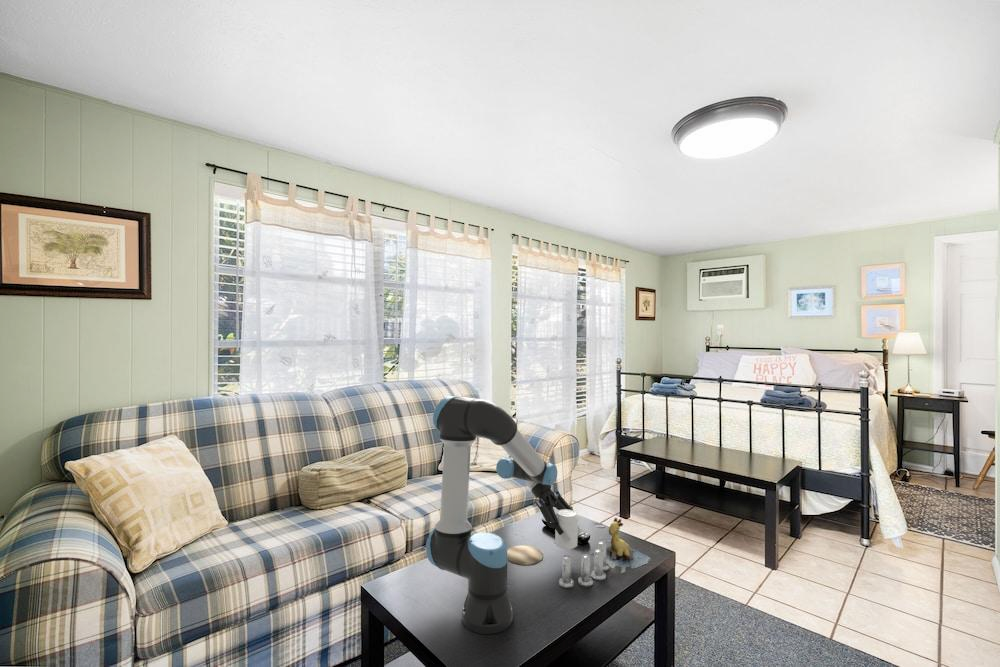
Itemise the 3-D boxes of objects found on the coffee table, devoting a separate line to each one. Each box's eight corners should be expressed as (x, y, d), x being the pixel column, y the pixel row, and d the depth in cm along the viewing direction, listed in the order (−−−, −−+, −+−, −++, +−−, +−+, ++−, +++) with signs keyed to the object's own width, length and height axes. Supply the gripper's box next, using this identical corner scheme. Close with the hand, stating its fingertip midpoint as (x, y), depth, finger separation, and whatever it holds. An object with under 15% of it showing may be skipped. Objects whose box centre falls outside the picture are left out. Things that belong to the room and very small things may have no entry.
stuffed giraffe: (589, 554, 173) (592, 513, 172) (622, 545, 182) (625, 506, 182) (621, 575, 159) (623, 531, 159) (655, 564, 168) (657, 522, 168)
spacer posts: (587, 597, 144) (587, 569, 144) (556, 584, 151) (556, 558, 151) (615, 568, 162) (615, 543, 162) (587, 558, 169) (587, 534, 169)
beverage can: (578, 550, 161) (579, 517, 161) (556, 550, 161) (556, 516, 161) (575, 540, 169) (576, 509, 169) (554, 540, 169) (554, 508, 169)
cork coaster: (529, 568, 162) (529, 567, 162) (498, 557, 170) (498, 555, 170) (549, 554, 173) (549, 552, 173) (519, 543, 181) (519, 542, 181)
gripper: (546, 483, 183) (581, 533, 173) (516, 496, 167) (553, 552, 156) (557, 472, 180) (594, 523, 170) (528, 484, 163) (567, 542, 153)
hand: (574, 537), depth 163 cm, fingers closed on beverage can, 8 cm apart
